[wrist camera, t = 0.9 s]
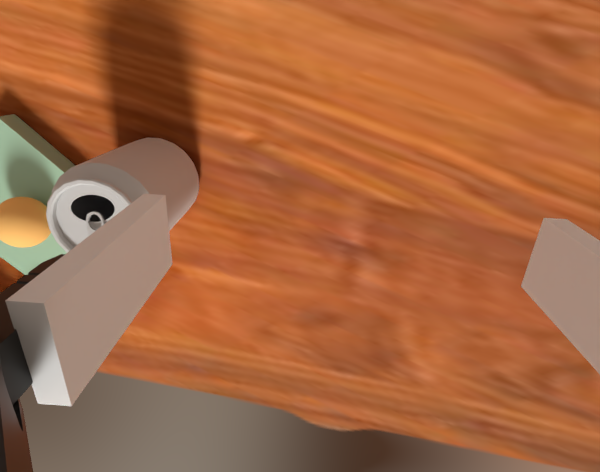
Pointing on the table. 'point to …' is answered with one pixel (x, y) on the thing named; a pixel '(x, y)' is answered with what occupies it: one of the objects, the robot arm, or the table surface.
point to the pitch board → (28, 183)
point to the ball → (23, 222)
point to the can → (120, 188)
